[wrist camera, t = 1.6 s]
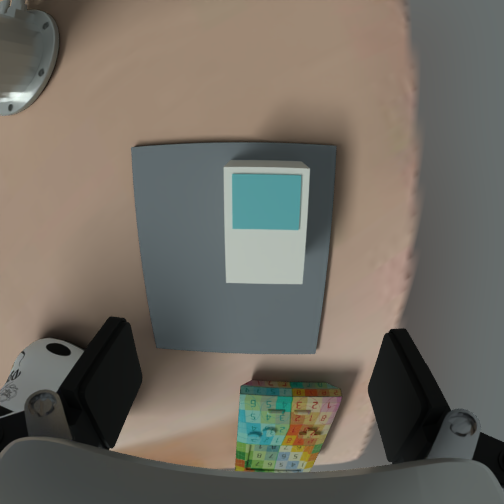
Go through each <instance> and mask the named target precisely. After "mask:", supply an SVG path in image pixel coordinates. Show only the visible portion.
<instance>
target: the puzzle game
mask: <svg viewBox="0 0 504 504" xmlns="http://www.w3.org/2000/svg"><path fill="white" fill-rule="evenodd" d="M341 399H342V393H341V389H339V388H337V387H334V386H332V385H330V384H328V383H310V382H276V381H258V380H251V381H249V382H247V383H245V384H243V385H242V386H241V389H240V402H239V417H238V432H237V447H236V463H235V471H245V472H272V473H296V472H310V470H311V468H312V466H313V464H314V462H315V460H316V458H317V456H318V453H319V451H320V449H321V447H322V444H323V442H324V440H325V438H326V436H327V433H328V431H329V429H330V426H331V424H332V422H333V419H334V417H335V415H336V412H337V410H338V407H339V405H340V402H341Z"/></svg>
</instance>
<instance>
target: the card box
mask: <svg viewBox="0 0 504 504" xmlns="http://www.w3.org/2000/svg"><path fill="white" fill-rule="evenodd" d="M309 177H310V168H309V167H307V166H306V165H305V164H304V163H303V162H302V161H280V160H230V161H229V162H228V163H227V164H226V165H225V166H224V225H225V264H226V283H252V284H302V283H303V271H304V259H305V245H306V231H307V215H308V198H309Z"/></svg>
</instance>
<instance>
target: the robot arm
mask: <svg viewBox="0 0 504 504" xmlns="http://www.w3.org/2000/svg"><path fill="white" fill-rule="evenodd" d="M25 1H26V0H12V4H11V6H10V2H11V1H10V0H3V1H1V2H0V115H2V116H7V115H13V114H17V113H19V112H21V111H23V110H25V109H26V108H27V107H28V106H30V105H31V104H32V103H33V102H34V101H35V100H36V99H37V97H38V96H39V95H40V93H41V92H42V91H43V89H44V88H45V86H46V84H47V82H48V80H49V78H50V76H51V74H52V71H53V69H54V66H55V63H56V59H57V55H58V49H59V32H58V27H57V25H56V22H55V20H54V19H53V18H52V17H51V16H50V15H49V14H47V13H46V12H43V11H40V10H27V5H26V4H25ZM141 383H142V372H141V368H140V364H139V360H138V356H137V352H136V348H135V343H134V339H133V334H132V330H131V325H130V323H128V322H126V320H125V319H124V318H119V317H109V318H108V319H107V321H106V322H105V323H104V325H103V326H102V327H101V329H100V330H99V331H98V333H97V334H96V336H95V337H94V338H93V340H92V341H91V342H90V344H89V345H88V347H87V348H86V349H85V351H84V352H83V354H82V355H81V356H80V358H79V359H78V361H77V362H76V363H75V365H74V366H73V368H72V369H71V371H70V372H69V374H68V375H67V376H66V378H65V379H64V381H63V382H62V384H61V385H60V387H59V389H58V390H57V392H54V391H52V390H46V389H44V390H39V391H36V392H34V393H33V394H31V395H30V396H29V397H28V398H27V400H26V402H25V405H24V411H21V412H18V413H15V414H12V415H9V416H6V417H2V418H0V504H504V442H502V441H500V440H497V439H495V438H493V437H490V436H488V435H486V434H484V433H482V432H480V429H481V425H480V421H479V419H478V418H477V416H476V415H474V414H473V413H472V412H470V411H468V410H465V409H454V410H451V409H450V407H449V406H448V403H447V402H446V400H445V398H444V396H443V394H442V392H441V390H440V388H439V386H438V384H437V382H436V380H435V379H434V377H433V375H432V373H431V371H430V369H429V367H428V366H427V364H426V363H425V361H424V360H423V358H422V356H421V354H420V352H419V351H418V349H417V347H416V345H415V344H414V342H413V340H412V338H411V337H410V335H409V333H408V332H407V330H406V329H391V330H390V331H389V333H386V334H385V335H384V338H383V341H382V345H381V348H380V351H379V354H378V358H377V361H376V364H375V367H374V370H373V373H372V376H371V379H370V382H369V385H368V394H369V397H370V401H371V404H372V407H373V410H374V414H375V417H376V421H377V424H378V428H379V431H380V435H381V438H382V442H383V445H384V449H385V453H386V456H387V460H388V461H389V462H392V464H391V465H384V466H376V467H369V468H359V469H350V470H338V471H325V472H296V473H272V472H245V471H230V470H219V469H209V468H200V467H192V466H185V465H178V464H172V463H166V462H161V461H155V460H150V459H145V458H140V457H136V456H131V455H127V454H122V453H118V452H114V451H110V450H109V449H110V448H113V447H114V446H115V444H116V441H117V439H118V437H119V434H120V432H121V429H122V427H123V425H124V422H125V420H126V418H127V415H128V413H129V411H130V408H131V406H132V404H133V402H134V399H135V397H136V395H137V392H138V390H139V388H140V386H141Z"/></svg>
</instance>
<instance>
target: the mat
mask: <svg viewBox="0 0 504 504" xmlns="http://www.w3.org/2000/svg"><path fill="white" fill-rule="evenodd" d="M131 152H132V170H133V185H134V197H135V208H136V219H137V228H138V237H139V245H140V253H141V260H142V268H143V274H144V281H145V287H146V294H147V300H148V305H149V311H150V317H151V322H152V327H153V332H154V337H155V342H156V347H157V348H163V349H175V350H187V351H202V352H220V353H245V354H315V352H316V346H317V339H318V333H319V326H320V319H321V312H322V305H323V297H324V289H325V281H326V272H327V263H328V254H329V244H330V234H331V223H332V211H333V197H334V183H335V166H336V146H332V145H317V144H298V143H266V142H218V143H186V144H167V145H152V146H139V147H131ZM230 160H280V161H302V162H303V163H304V164H305V165H306V166H307V167H309V168H310V177H309V198H308V215H307V231H306V245H305V259H304V271H303V283H302V284H252V283H226V264H225V225H224V166H225V165H226V164H227V163H228V162H229V161H230Z"/></svg>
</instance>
